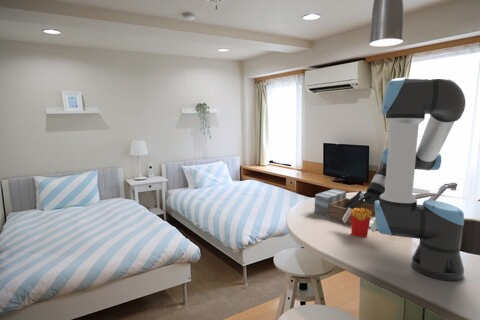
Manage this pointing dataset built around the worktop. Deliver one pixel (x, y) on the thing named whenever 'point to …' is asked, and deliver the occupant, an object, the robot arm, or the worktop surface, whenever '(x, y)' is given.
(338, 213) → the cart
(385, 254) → the worktop surface
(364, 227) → the french fries
